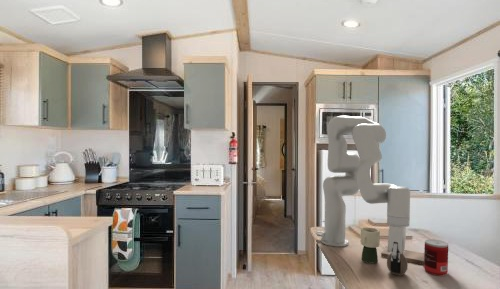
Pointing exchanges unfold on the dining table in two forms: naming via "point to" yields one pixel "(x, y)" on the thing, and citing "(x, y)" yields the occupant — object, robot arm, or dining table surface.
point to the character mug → (370, 244)
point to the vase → (403, 264)
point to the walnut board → (407, 256)
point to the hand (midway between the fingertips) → (397, 268)
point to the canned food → (436, 257)
